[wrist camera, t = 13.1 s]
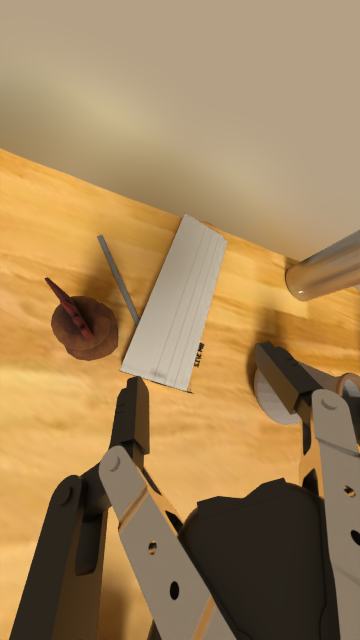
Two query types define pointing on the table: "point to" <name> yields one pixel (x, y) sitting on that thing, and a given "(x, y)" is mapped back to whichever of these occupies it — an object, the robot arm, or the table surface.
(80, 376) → the table surface
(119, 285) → the thin grey rod
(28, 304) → the table surface
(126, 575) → the table surface
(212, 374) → the table surface
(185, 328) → the baseboard molding
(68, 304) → the wooden figurine
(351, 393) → the coffee pot
